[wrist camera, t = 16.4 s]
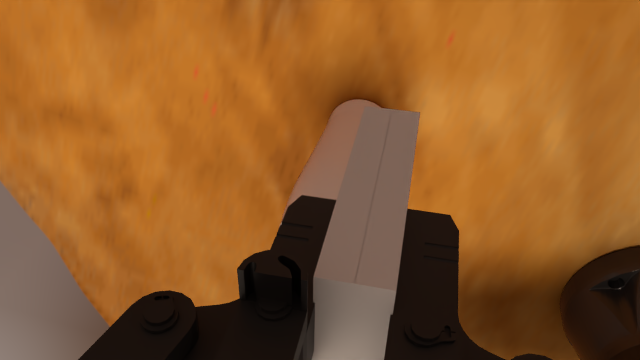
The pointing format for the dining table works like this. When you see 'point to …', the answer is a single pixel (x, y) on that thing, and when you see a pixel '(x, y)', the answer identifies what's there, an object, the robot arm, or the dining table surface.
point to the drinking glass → (331, 153)
